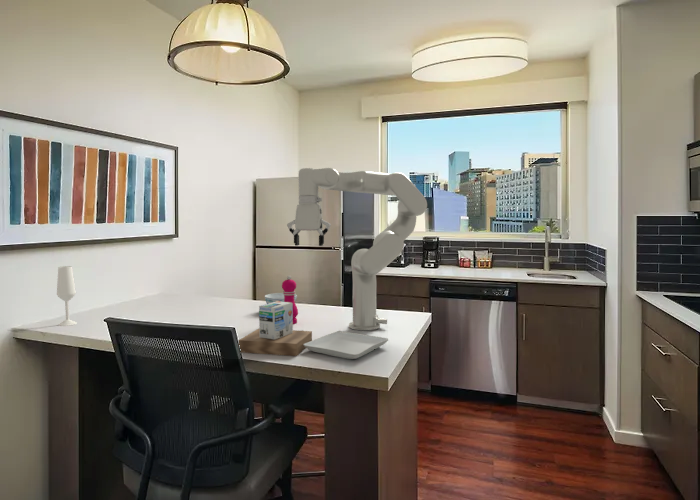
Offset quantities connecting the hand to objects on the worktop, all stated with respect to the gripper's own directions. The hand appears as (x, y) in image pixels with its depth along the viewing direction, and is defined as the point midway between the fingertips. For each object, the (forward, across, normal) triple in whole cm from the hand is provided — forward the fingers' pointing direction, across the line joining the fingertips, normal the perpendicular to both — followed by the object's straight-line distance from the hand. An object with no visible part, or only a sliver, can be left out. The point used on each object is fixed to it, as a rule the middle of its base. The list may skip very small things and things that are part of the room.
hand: (308, 245), depth 169 cm
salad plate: (+34, -20, +22) cm, 45 cm away
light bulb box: (+30, +4, +24) cm, 38 cm away
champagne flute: (+34, +102, +11) cm, 108 cm away
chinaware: (+34, +24, -31) cm, 52 cm away
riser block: (+33, +4, +24) cm, 41 cm away
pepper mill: (+34, +12, -10) cm, 37 cm away
